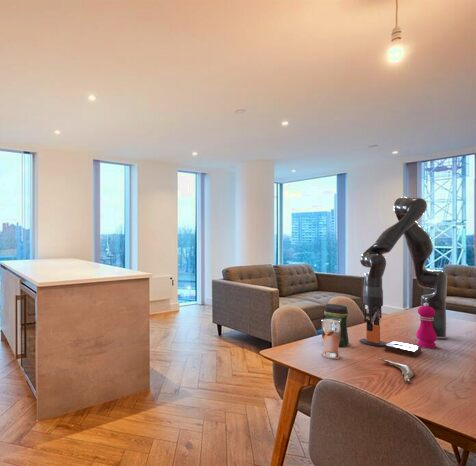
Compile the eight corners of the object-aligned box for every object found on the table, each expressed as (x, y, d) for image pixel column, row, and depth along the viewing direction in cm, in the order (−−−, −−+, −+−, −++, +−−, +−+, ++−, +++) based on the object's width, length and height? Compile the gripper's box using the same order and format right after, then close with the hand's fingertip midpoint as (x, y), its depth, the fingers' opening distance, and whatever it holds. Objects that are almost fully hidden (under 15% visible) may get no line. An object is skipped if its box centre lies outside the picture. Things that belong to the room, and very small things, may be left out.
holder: (392, 346, 154) (392, 340, 154) (421, 352, 146) (421, 346, 146) (385, 350, 148) (385, 345, 148) (414, 357, 140) (414, 351, 140)
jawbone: (401, 365, 132) (402, 360, 132) (437, 389, 112) (438, 383, 112) (376, 361, 134) (376, 356, 134) (407, 384, 114) (407, 378, 114)
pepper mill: (441, 349, 150) (440, 304, 150) (422, 348, 151) (422, 303, 151) (430, 344, 157) (429, 301, 157) (412, 343, 158) (412, 300, 159)
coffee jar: (349, 343, 157) (349, 304, 157) (347, 348, 151) (347, 307, 151) (326, 339, 164) (326, 301, 164) (322, 343, 158) (322, 304, 158)
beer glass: (338, 354, 143) (338, 319, 143) (343, 360, 136) (342, 323, 137) (319, 352, 145) (319, 318, 145) (323, 358, 139) (323, 322, 139)
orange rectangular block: (367, 340, 161) (367, 323, 161) (380, 343, 157) (380, 325, 157) (366, 340, 160) (366, 324, 160) (379, 343, 156) (378, 326, 156)
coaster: (365, 338, 165) (365, 337, 165) (389, 343, 157) (389, 342, 157) (356, 342, 159) (356, 341, 159) (382, 348, 151) (382, 346, 151)
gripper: (376, 298, 151) (377, 333, 151) (387, 294, 160) (388, 328, 159) (357, 295, 157) (358, 330, 157) (369, 292, 166) (369, 325, 165)
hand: (373, 329), depth 158 cm, fingers open, 8 cm apart
